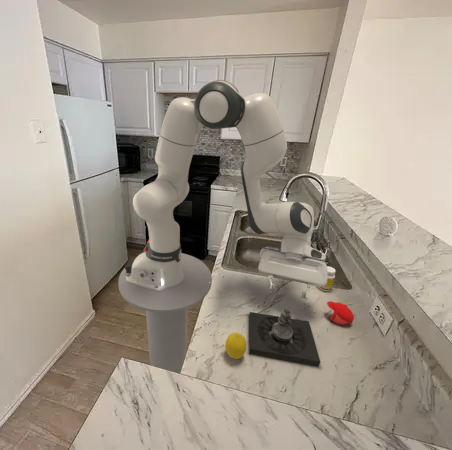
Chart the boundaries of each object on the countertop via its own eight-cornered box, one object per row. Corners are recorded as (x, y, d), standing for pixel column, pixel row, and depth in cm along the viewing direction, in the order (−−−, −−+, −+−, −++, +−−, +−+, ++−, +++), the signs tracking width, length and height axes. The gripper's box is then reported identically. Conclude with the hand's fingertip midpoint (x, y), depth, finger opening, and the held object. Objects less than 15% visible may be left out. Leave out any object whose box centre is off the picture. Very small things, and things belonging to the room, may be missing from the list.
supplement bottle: (333, 291, 94) (339, 273, 90) (320, 291, 94) (326, 273, 90) (327, 283, 98) (332, 265, 95) (314, 283, 98) (320, 265, 95)
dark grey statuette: (268, 343, 73) (275, 312, 68) (271, 328, 78) (277, 298, 73) (290, 350, 71) (299, 319, 66) (291, 334, 76) (299, 304, 71)
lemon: (240, 368, 66) (243, 347, 63) (220, 358, 69) (223, 337, 65) (247, 353, 71) (251, 332, 67) (229, 343, 73) (231, 323, 70)
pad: (249, 353, 70) (250, 348, 70) (248, 316, 83) (249, 311, 82) (318, 366, 67) (320, 361, 66) (307, 325, 80) (309, 321, 79)
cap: (350, 316, 83) (355, 302, 81) (352, 330, 78) (358, 315, 76) (323, 309, 86) (327, 295, 83) (323, 321, 81) (328, 307, 78)
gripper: (261, 242, 83) (253, 283, 79) (331, 255, 76) (326, 302, 72) (261, 247, 89) (253, 286, 85) (326, 260, 82) (321, 303, 78)
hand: (287, 293), depth 78 cm, fingers open, 8 cm apart
